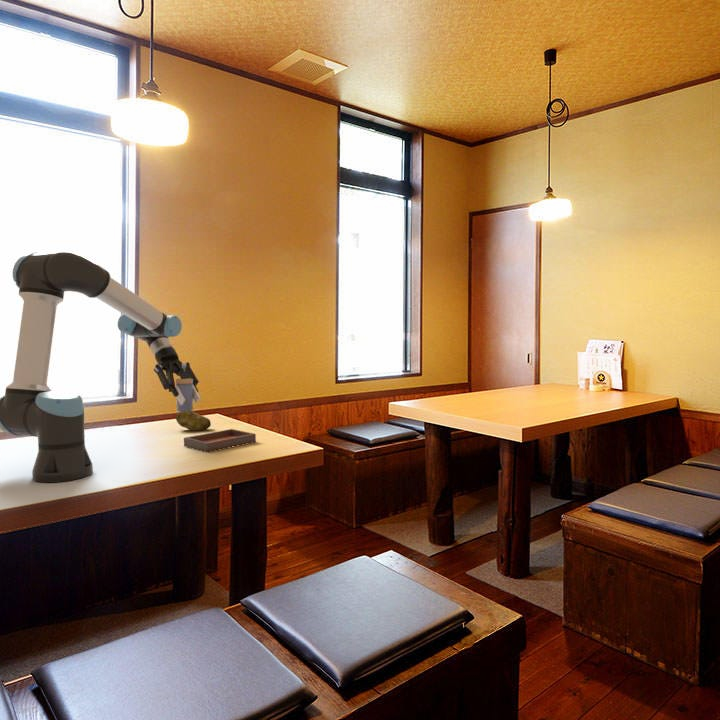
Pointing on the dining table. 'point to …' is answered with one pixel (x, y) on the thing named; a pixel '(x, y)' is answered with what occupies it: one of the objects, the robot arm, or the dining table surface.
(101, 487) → the dining table surface
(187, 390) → the shaker
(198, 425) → the potato
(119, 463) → the dining table surface
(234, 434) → the tray
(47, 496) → the dining table surface
